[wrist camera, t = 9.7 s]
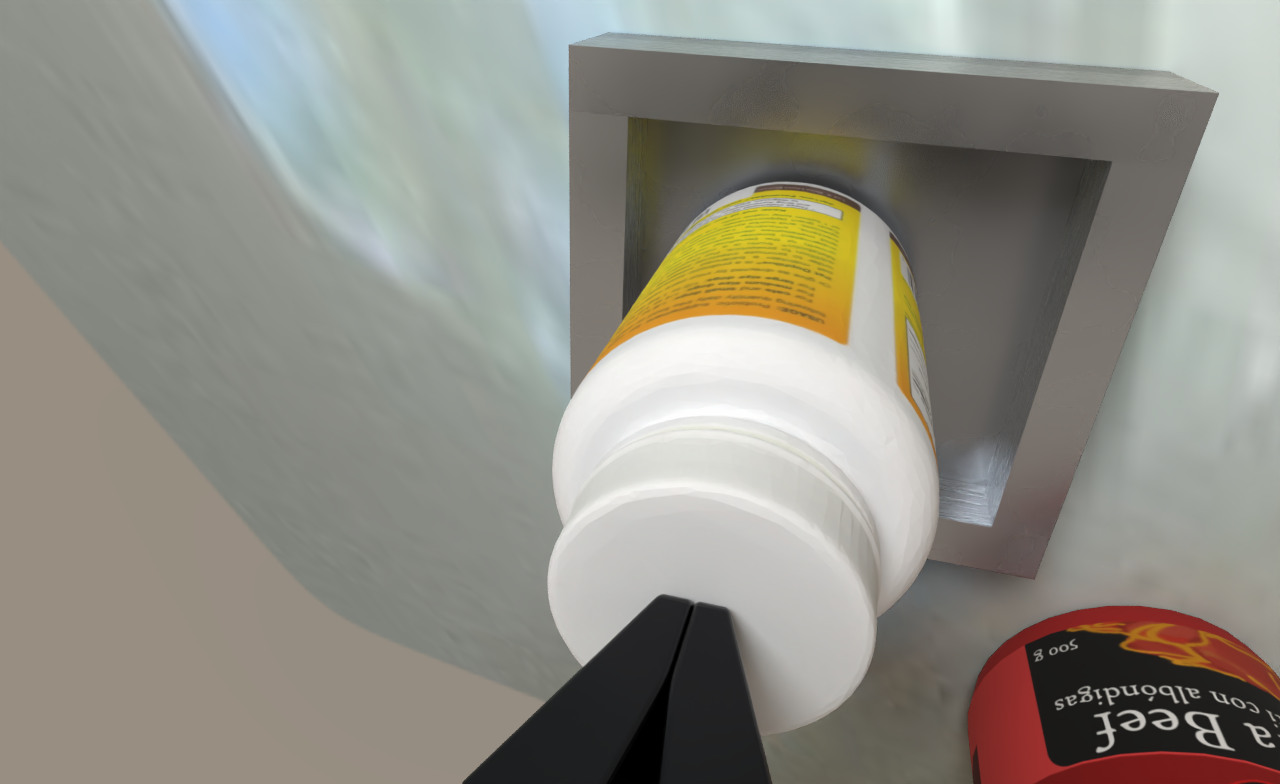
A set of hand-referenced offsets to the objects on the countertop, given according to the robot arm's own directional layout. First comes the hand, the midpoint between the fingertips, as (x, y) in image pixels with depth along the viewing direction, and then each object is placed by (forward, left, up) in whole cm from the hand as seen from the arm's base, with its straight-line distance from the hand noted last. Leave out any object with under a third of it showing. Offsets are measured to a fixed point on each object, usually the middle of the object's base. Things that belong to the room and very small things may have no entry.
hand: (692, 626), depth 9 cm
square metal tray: (-1, 0, -11) cm, 11 cm away
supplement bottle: (0, 0, -10) cm, 10 cm away
